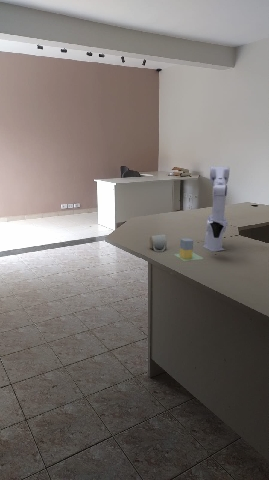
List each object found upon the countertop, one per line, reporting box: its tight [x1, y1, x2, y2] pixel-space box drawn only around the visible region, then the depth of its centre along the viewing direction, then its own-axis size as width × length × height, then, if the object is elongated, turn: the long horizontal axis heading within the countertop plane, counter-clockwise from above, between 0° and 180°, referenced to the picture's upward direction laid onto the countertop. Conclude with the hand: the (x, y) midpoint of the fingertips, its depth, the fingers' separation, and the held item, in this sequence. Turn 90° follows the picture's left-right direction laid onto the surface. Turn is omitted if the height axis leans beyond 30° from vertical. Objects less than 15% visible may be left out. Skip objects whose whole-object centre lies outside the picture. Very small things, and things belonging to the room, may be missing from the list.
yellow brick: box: [179, 247, 194, 259], centre depth 179 cm, size 4×4×4 cm
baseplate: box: [173, 251, 204, 262], centre depth 182 cm, size 11×11×1 cm
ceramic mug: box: [149, 234, 168, 253], centre depth 192 cm, size 11×8×8 cm
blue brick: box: [179, 237, 194, 250], centre depth 178 cm, size 4×4×4 cm
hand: (216, 237), depth 178 cm, fingers closed
